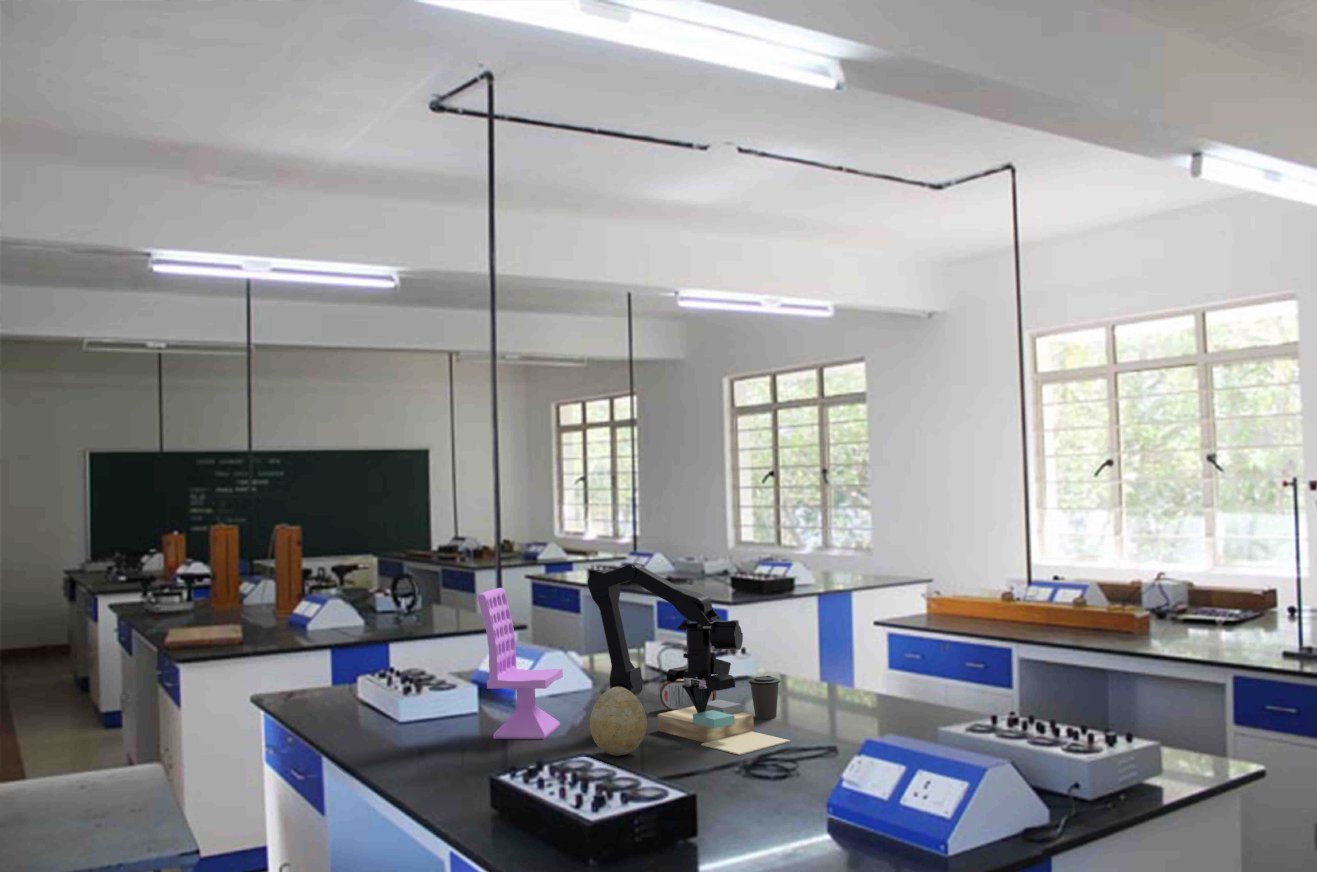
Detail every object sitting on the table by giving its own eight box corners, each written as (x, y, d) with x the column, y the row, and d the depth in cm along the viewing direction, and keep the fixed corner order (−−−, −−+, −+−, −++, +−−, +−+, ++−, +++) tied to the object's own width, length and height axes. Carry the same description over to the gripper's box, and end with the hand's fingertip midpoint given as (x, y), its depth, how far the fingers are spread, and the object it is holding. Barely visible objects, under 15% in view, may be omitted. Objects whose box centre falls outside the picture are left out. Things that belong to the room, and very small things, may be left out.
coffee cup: (781, 712, 267) (779, 673, 268) (782, 720, 259) (780, 679, 260) (749, 713, 268) (748, 674, 268) (749, 720, 260) (748, 680, 260)
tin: (716, 708, 276) (715, 676, 276) (716, 710, 273) (715, 678, 273) (660, 709, 277) (659, 677, 278) (659, 711, 274) (658, 679, 274)
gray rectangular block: (723, 716, 248) (723, 707, 248) (701, 711, 254) (701, 703, 254) (741, 712, 252) (741, 703, 252) (719, 707, 258) (719, 699, 258)
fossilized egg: (584, 751, 236) (581, 685, 236) (636, 744, 240) (634, 679, 241) (600, 765, 224) (598, 694, 224) (655, 757, 228) (653, 688, 229)
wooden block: (707, 743, 239) (706, 725, 239) (658, 730, 253) (657, 713, 253) (753, 731, 248) (753, 714, 249) (704, 719, 262) (703, 703, 263)
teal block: (714, 728, 236) (714, 719, 236) (693, 722, 243) (692, 713, 243) (734, 723, 240) (734, 715, 240) (713, 718, 246) (712, 709, 246)
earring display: (547, 739, 248) (542, 592, 249) (478, 739, 251) (474, 594, 253) (564, 725, 262) (559, 586, 264) (499, 724, 265) (495, 587, 267)
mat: (739, 754, 228) (739, 753, 228) (701, 744, 238) (701, 743, 238) (790, 741, 238) (790, 740, 238) (751, 732, 248) (751, 731, 248)
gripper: (750, 647, 244) (753, 714, 243) (698, 640, 258) (700, 703, 257) (715, 654, 237) (718, 723, 236) (663, 646, 251) (666, 711, 250)
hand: (701, 714), depth 245 cm, fingers closed
